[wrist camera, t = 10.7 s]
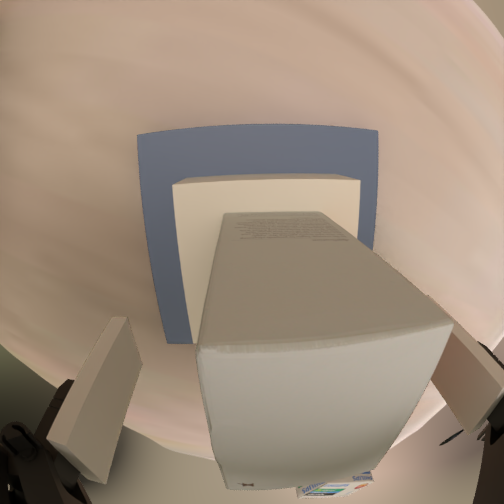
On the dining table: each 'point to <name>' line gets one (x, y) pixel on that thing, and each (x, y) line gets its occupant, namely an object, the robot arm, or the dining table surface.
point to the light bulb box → (336, 487)
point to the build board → (235, 159)
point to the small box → (308, 351)
